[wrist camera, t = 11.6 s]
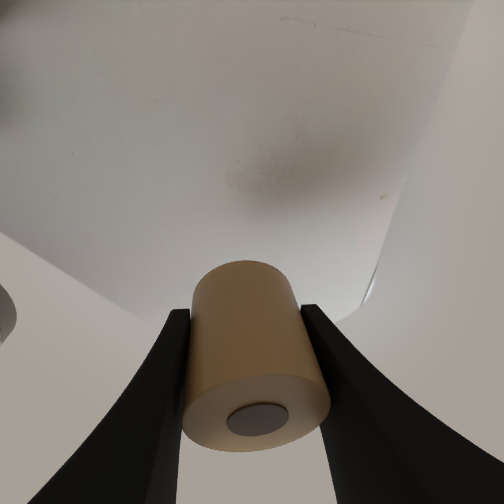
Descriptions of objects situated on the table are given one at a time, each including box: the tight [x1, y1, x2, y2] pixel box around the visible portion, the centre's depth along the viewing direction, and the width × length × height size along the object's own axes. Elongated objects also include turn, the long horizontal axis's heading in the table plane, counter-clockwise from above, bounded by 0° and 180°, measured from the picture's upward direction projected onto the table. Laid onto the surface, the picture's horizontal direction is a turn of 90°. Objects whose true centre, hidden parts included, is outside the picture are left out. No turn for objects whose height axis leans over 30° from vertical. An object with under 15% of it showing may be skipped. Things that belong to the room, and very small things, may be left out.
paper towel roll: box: [181, 260, 331, 452], centre depth 10 cm, size 4×4×5 cm
